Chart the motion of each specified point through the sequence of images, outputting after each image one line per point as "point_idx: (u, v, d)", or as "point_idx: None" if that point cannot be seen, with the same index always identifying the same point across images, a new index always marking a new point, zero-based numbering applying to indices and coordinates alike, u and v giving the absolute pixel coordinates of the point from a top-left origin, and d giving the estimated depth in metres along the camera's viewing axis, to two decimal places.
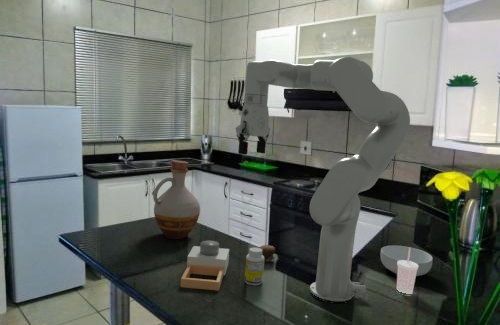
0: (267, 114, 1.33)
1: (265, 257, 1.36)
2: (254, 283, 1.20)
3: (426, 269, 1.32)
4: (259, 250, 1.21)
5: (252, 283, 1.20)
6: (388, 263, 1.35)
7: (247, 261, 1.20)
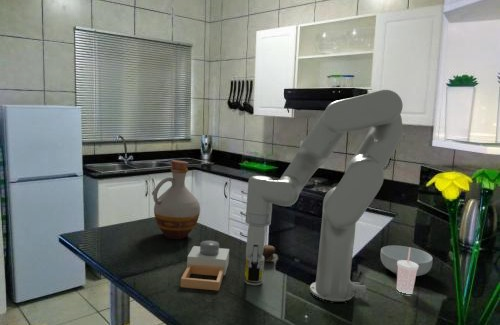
0: (247, 234, 1.18)
1: (265, 257, 1.36)
2: (254, 283, 1.20)
3: (426, 269, 1.32)
4: None
5: (252, 283, 1.20)
6: (388, 263, 1.35)
7: (247, 261, 1.20)
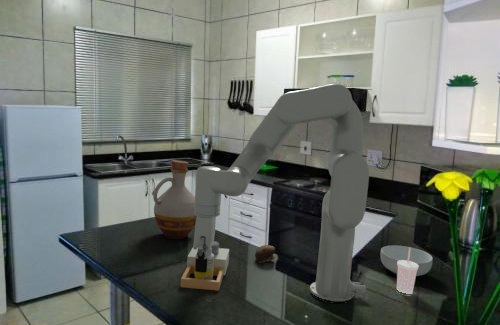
0: (195, 225, 1.15)
1: (265, 257, 1.36)
2: None
3: (426, 269, 1.32)
4: None
5: None
6: (388, 263, 1.35)
7: None
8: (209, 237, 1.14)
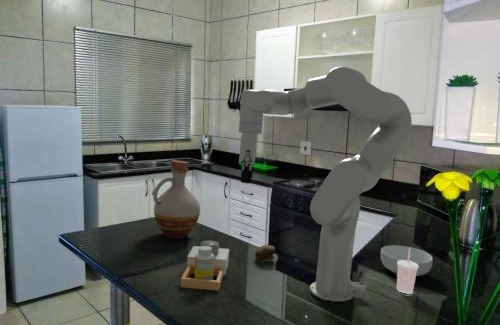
0: None
1: (265, 257, 1.36)
2: None
3: (426, 269, 1.32)
4: (208, 248, 1.19)
5: None
6: (388, 263, 1.35)
7: (196, 260, 1.19)
8: (253, 151, 1.28)
